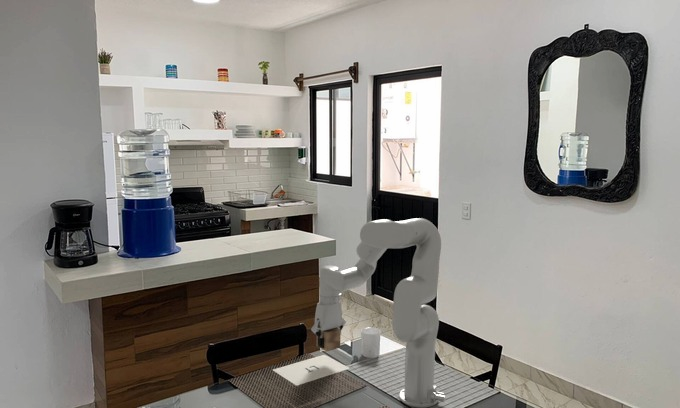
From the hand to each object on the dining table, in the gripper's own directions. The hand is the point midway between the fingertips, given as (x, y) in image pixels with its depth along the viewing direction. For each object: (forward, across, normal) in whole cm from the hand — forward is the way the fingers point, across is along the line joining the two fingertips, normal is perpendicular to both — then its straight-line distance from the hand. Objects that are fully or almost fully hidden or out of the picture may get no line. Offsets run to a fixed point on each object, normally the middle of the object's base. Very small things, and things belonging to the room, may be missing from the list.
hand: (328, 344), depth 198 cm
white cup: (+8, -20, +2) cm, 22 cm away
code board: (+8, +8, 0) cm, 11 cm away
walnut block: (+1, 0, 0) cm, 1 cm away
